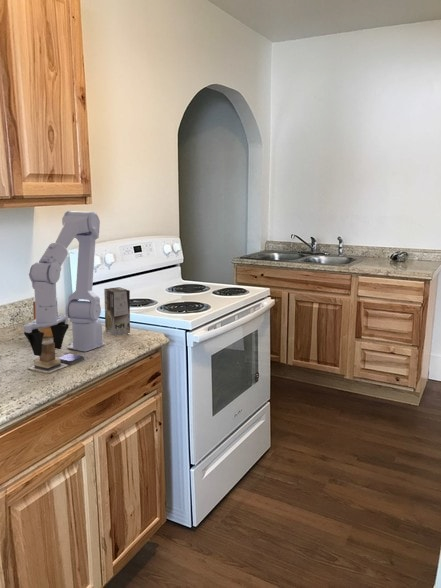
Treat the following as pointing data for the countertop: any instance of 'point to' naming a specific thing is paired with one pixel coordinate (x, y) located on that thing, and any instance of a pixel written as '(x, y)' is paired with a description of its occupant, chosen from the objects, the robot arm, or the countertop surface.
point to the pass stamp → (47, 357)
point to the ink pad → (71, 359)
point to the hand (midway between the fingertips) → (47, 351)
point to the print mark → (48, 370)
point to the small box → (47, 330)
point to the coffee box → (117, 311)
